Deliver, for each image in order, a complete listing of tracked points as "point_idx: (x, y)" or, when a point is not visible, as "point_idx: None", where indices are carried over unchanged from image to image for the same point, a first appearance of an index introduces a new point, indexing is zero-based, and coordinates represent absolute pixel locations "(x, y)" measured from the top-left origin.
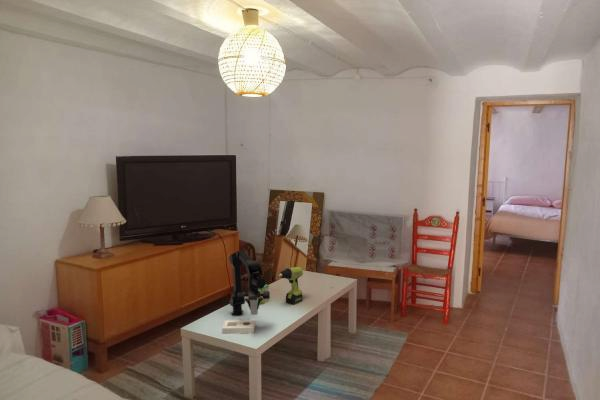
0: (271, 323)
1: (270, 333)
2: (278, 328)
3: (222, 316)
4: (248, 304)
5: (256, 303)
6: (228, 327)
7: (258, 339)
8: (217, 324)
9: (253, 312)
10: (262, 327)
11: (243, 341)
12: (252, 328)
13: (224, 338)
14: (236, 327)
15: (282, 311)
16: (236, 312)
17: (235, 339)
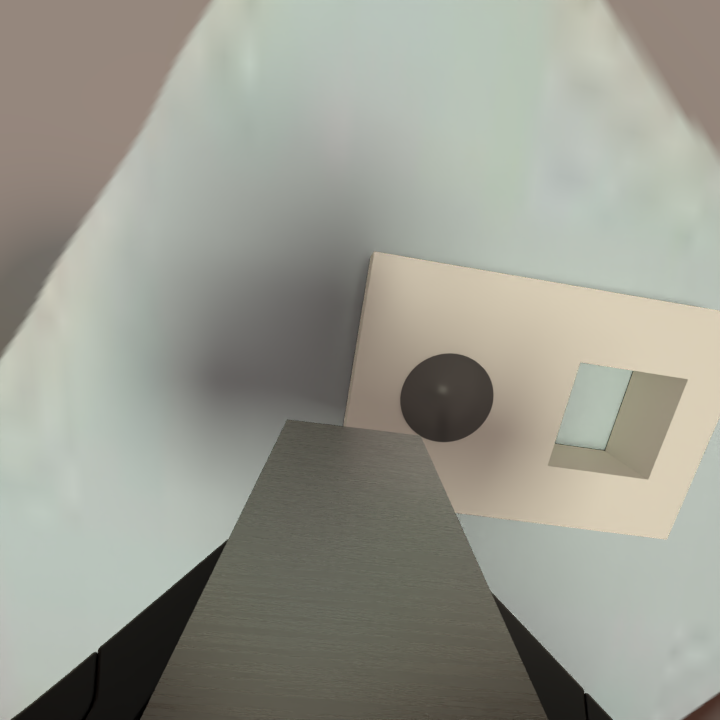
0: (168, 458)
1: (176, 194)
2: (85, 316)
3: (610, 674)
4: (585, 706)
5: (190, 705)
6: (682, 331)
7: (325, 38)
8: (689, 528)
9: (365, 452)
10: (265, 378)
11: (511, 20)
12: (386, 254)
13: (704, 171)
14: (586, 311)
15: None
16: None
17: (593, 110)
